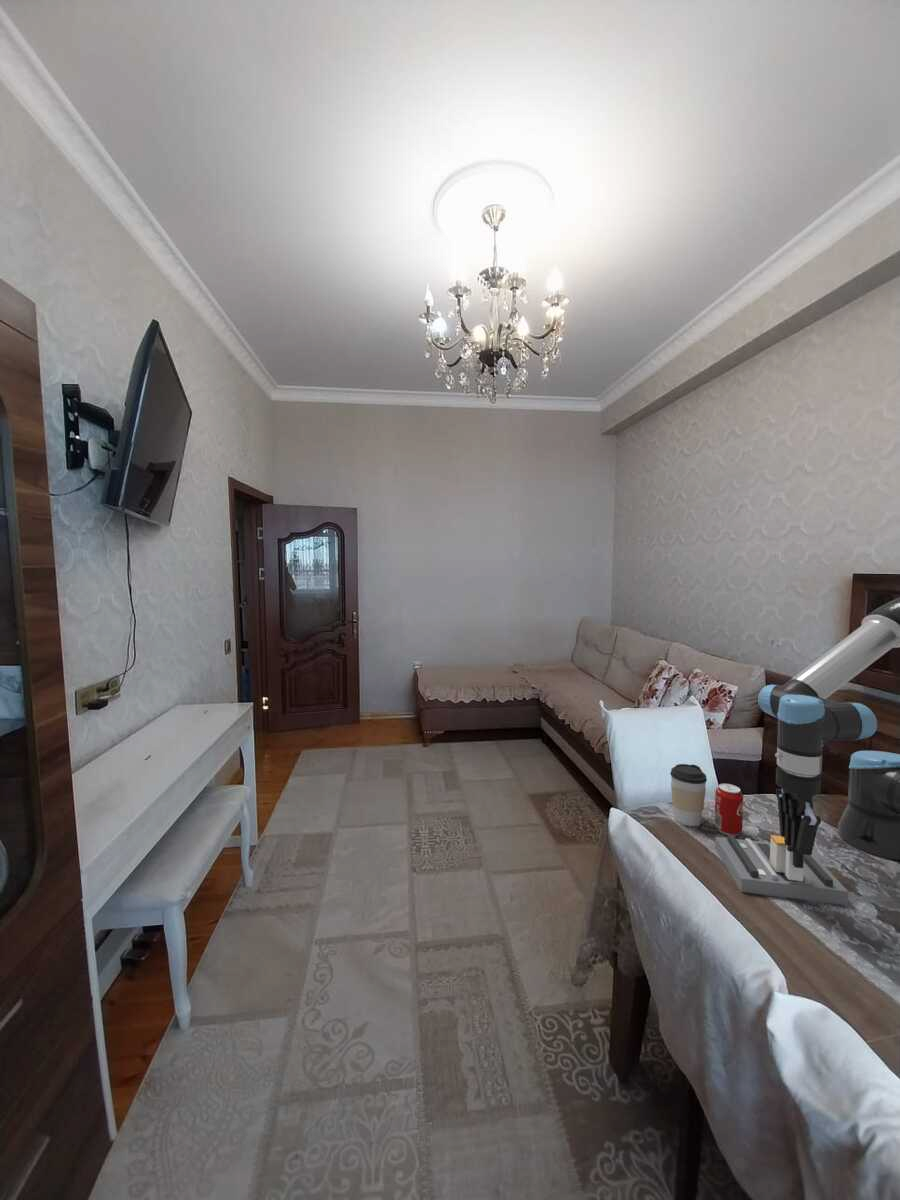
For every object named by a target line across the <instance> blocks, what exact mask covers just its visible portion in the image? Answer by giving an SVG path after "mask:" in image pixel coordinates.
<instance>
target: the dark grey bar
mask: <svg viewBox="0 0 900 1200" xmlns="http://www.w3.org/2000/svg"><path fill="white" fill-rule="evenodd" d="M804 862H805V863H806V865H807V866H808V867H809V868H810V869H811V870H812V871H813V873H814V874H815V875H816V876H817V877H818V879H819V881H821V882H822V883H823V884H824V885H825V886H830V887H833V880H832V879H831V878H830V877H829V875H828V874H827V873H826V872H825V871H824V870H823V869H822V868H821V867H820V866H819V864H818V863H817V862H816V861H815V860H814V859H813V858H812V857H811V856H810V855H804Z"/></svg>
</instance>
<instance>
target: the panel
mask: <svg viewBox="0 0 900 1200" xmlns="http://www.w3.org/2000/svg"><path fill="white" fill-rule="evenodd" d="M714 840H715V841H714V843H715V845H714V848H715V851H716V852H717V853H718V856H719V857H720V859H721V860H722V863H723V864H724V866H725V868H726V869H727V871H728V872H729V874H730V876H731V878H732V879H733V881H734V883H735V884H736V886H737V888H738V890H739V891H740V892H741V893H746V894H747V893H748V894H755V895H763V896H772V897H778V898H785V899H786V898H787V899H794V900H803V901H811V902H818V903H827V904H835V905H842V906H848V905H849V891H848V889H847V888H846V887H845V886H844V885H843V884H842V883H841V882H840V881H839V880H838V879H837V877H836V876H835V875H833V872H831V871H830V870H829V868H827V867H826V866H825V865H824V864H823V863H822V861H820V859H819V858H818V857H817V856H816V855H815V853H813V852H812V855H810V856H811V857H812V858H813V859H814V860H815V861H816V862H817V863H818V864H819V866H820V867H821V868H822V869H823V870H824V871H825V872H826V873H827V874H828V875H829V877H830V878H831V879H832V880H833V887H830V886H825V885H824V884H823V883H822V882H821V881H819V879H818V877H817V876H816V875H815V874H814V873H813V871H812V870H811V869H810V868H809V867H808V866H807V865H806V863H805V862H804V871H803V881H797V880H789V879H788V878H787V877H786V876H785V873H783V872H776V871H775V870H774V868H773V867H772V866H771V864H770V841H769V842H766V841H757V840H751V838H747V837H745V839H737V838H736V840H737V841H738V842H739V844H740V845H741V847H742V848H743V850H744V851H745V853H746V854H747V855H748V857H749V858H750V860H751V861H752V863H753V864H754V866H755V867H756V868H757V870H758V871H759V878H756V877H751V876H750V874H749V873H747V870H746V868H745V867H744V865H743V864H742V862H741V861H740V859H739V857H738V856H737V854H736V853H735V851H734V850H733V848H732V847H731V845H730V844H728V843H729V842H728V841H727V837H720V836H715V839H714Z"/></svg>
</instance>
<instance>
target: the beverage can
mask: <svg viewBox="0 0 900 1200" xmlns="http://www.w3.org/2000/svg"><path fill="white" fill-rule="evenodd" d="M714 795H715V799H714V800H715V806H714V827H715V828H716V829H717V830H718V832H719V833H721V834H723V835H725V836H727V835H734V837H737V836H739V835H740V834H742V832H743V814H744V813H743V812H744V794H743V793H742V791H741V788H740V787H738V786H736V785H734V784H731V783H720V784H719V785H718V787H717V788H716V789H715V794H714Z"/></svg>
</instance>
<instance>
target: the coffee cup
mask: <svg viewBox="0 0 900 1200" xmlns="http://www.w3.org/2000/svg"><path fill="white" fill-rule="evenodd" d="M669 773H670V776H671V782H670V786H671V802H672V808H673V810H672V812H673V819H674V821H676V822H677V821H678V822H677V823H679V824H680V823H682V824H681V825H683V824H684V825H683V826H686V825H689V826H688V827H691V826H696V827H699V826H701V825H702V818H703V810H704V808H705V807H704V806H705V799H706V790H707V789H706V785H707V781H708V779H707V775H706V774H705V773H704V772H703V769H701V767H700V766H699V765H697V764H687V763H681V764H678V763H677V764H676V765H675V766H674V767H672V768H671V769H670V772H669ZM700 824H701V825H700Z"/></svg>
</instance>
